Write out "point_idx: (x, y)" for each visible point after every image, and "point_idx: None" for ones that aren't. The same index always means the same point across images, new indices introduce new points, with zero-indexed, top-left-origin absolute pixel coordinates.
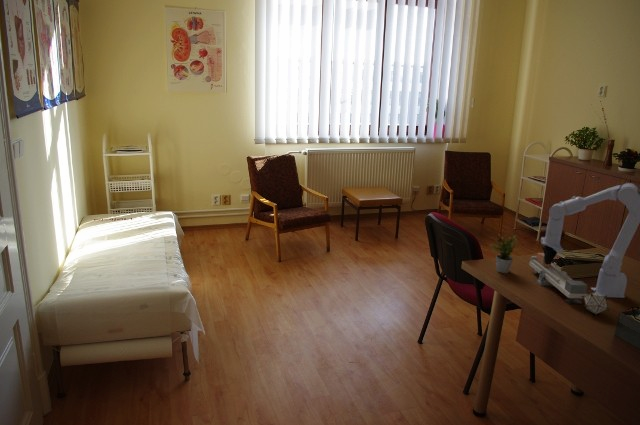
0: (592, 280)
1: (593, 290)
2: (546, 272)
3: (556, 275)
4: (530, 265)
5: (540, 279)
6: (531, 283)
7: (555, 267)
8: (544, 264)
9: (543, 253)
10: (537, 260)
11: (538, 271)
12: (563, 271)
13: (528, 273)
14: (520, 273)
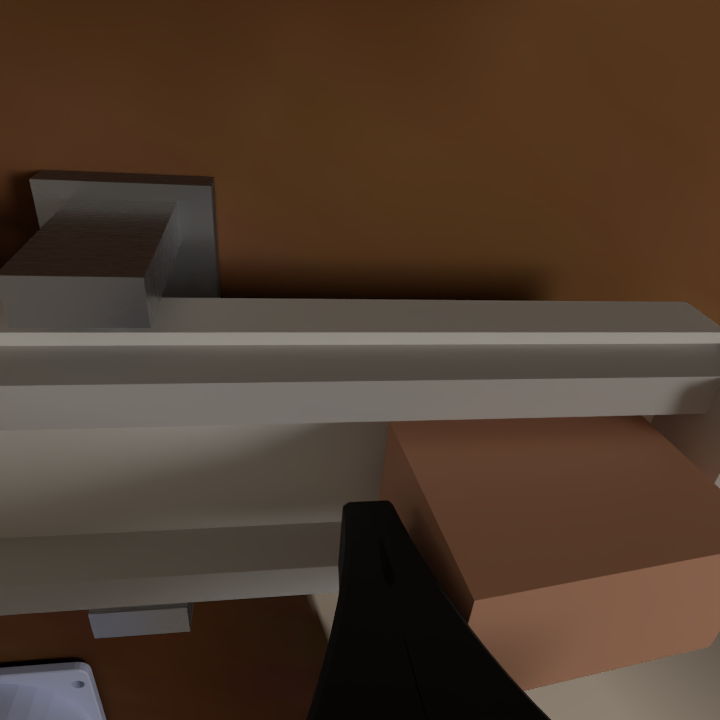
0: (301, 713)
1: (26, 668)
2: (69, 367)
3: (67, 488)
4: (639, 304)
5: (96, 213)
6: (106, 34)
7: (292, 580)
8: (398, 474)
9: (682, 630)
10: (617, 439)
11: (352, 307)
12: (176, 620)
13: (530, 212)
14: (555, 65)
